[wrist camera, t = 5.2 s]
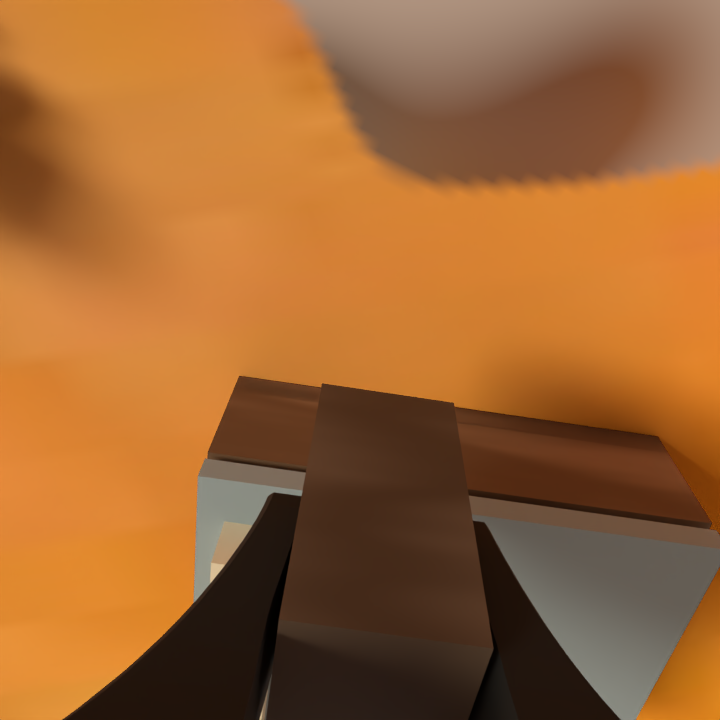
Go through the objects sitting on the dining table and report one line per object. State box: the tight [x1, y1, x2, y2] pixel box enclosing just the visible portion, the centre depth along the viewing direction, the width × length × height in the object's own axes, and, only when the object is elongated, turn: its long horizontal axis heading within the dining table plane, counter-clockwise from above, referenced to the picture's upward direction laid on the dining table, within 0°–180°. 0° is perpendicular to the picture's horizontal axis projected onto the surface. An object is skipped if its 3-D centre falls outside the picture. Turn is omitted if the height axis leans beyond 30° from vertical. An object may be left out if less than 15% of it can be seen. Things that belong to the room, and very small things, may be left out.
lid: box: [194, 459, 720, 720], centre depth 21 cm, size 12×15×2 cm
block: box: [266, 384, 494, 720], centre depth 13 cm, size 3×3×6 cm
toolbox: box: [208, 376, 712, 529], centre depth 24 cm, size 12×15×4 cm
